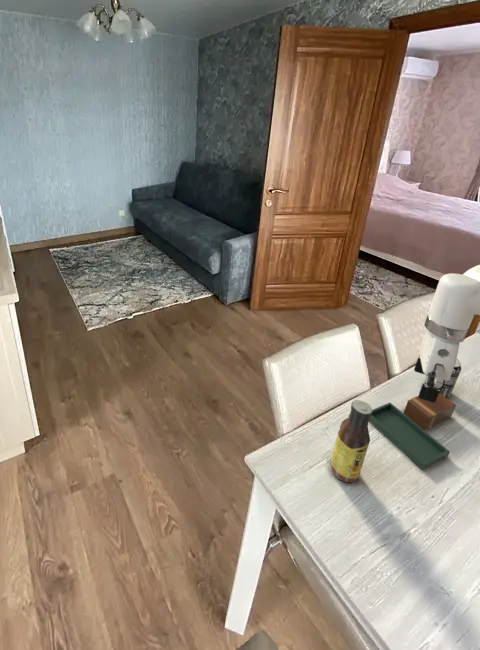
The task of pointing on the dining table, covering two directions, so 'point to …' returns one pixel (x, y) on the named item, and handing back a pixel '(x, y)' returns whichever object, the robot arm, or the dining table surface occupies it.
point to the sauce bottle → (352, 443)
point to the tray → (408, 436)
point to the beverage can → (450, 384)
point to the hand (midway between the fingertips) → (423, 385)
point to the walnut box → (429, 411)
